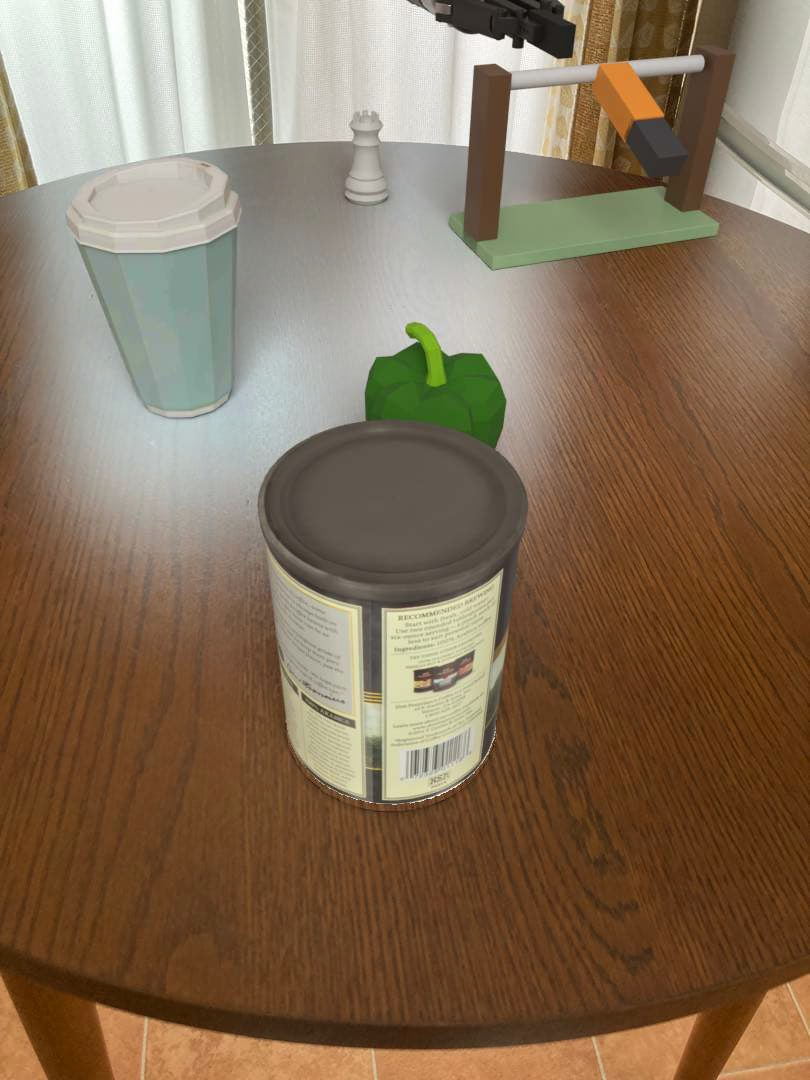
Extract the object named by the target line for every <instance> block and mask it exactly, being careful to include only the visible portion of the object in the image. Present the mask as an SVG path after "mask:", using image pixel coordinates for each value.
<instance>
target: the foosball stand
mask: <svg viewBox="0 0 810 1080" xmlns="http://www.w3.org/2000/svg"><path fill="white" fill-rule="evenodd" d="M693 55H702V56H703V57H704V61H705V63H704V68H703V70H702V71H701V72H698V73H689V79H688V83H687V89H686V93H685V98H684V103H683V108H682V113H681V118H680V122H679V127H678V131H677V135H676V136H677V138H678V139H679V141H680V142H681V143H682V145H683V146H684V148H685V149H686V151H687V152H688V154H689V155H688V157H687V159H686V161H685V163H684V166H683V168H682V170H681V172H680V174H679V175H674V176H668V180H667V185H666V187H665V186H663V185H658V186H650V187H643V188H635V189H634V188H633V189H626V190H620V191H613V192H612V191H611V192H604V193H597V194H590V195H583V196H576V197H569V198H560V199H553V200H546V201H544V200H543V201H537V202H531V203H523V204H515V205H507V206H501V204H502V203H501V202H502V191H503V181H504V180H503V179H504V170H505V169H504V168H505V159H506V147H507V136H508V135H507V134H508V124H509V123H508V122H509V111H510V102H511V101H510V100H511V91H512V90H511V80H512V74H511V73H510V71H508V70H506V69H505V68H503V67H502V66H500V65H499V64H497V63H486V64H475V65H473V73H472V88H471V89H472V90H471V102H470V103H471V105H470V121H469V134H468V135H469V137H468V151H467V152H468V153H467V168H466V181H465V182H466V183H465V199H464V211H463V212H456V213H449V216H448V227H449V226H450V227H451V228H452V229H453V230H454V231H455V232H456V233H455V232H454V231H453V230H452V229H451V228H450V227H449V228H450V229H451V230H452V231H453V232H454V233H455V234H456V236H458V237H459V238H460V239H461V241H463V242H464V243H465V244H466V245H467V246H468V247H469V249H471V251H473V253H475V254H476V255H477V256H478V257H479V258H480V259H481V260H482V262H484V263H485V265H487V267H488V268H490V270H492V271H494V270H502V269H507V268H508V269H509V268H514V267H521V266H526V265H527V266H528V265H534V264H540V263H547V262H554V261H560V260H565V259H566V260H567V259H573V258H574V259H575V258H579V257H586V256H593V255H599V254H606V253H611V252H613V253H614V252H618V251H624V250H631V249H638V248H644V247H651V246H658V245H664V244H669V243H670V244H671V243H676V242H682V241H683V242H684V241H690V240H697V239H703V238H709V237H715V236H718V234H719V233H718V232H719V229H720V222H718V221H717V220H715V219H713V218H712V217H711V216H709V215H708V214H706V213H704V212H703V211H702V210H700V209H701V205H702V200H703V197H704V192H705V188H706V184H707V179H708V174H709V171H710V166H711V162H712V158H713V153H714V149H715V145H716V142H717V141H716V140H717V137H718V132H719V130H720V129H719V128H720V125H721V124H720V123H721V119H722V116H723V112H724V108H725V102H726V98H727V94H728V90H729V86H730V82H731V77H732V74H733V69H734V64H735V60H736V56H737V53H735V52H733V51H731V50H729V49H725V48H724V47H721V46H719V45H717V44H707V45H706V44H705V45H696V46H695V50H694V54H693Z"/></svg>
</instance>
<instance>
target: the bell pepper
mask: <svg viewBox="0 0 810 1080" xmlns="http://www.w3.org/2000/svg"><path fill="white" fill-rule="evenodd" d="M404 328H405V329H404V331H405V334H406V335H407V336H408V338H409V339H413V340H414V339H415V340H416V342H413V343H412V344H410V345H409V346H407V347H405V348H404V349H402V350H400V351H398V352H397V353H395V354H393V355H386V356H385V355H383V356H376V357H375V359H374V361H373V363H372V365H371V367H370V369H369V371H368V376H367V379H366V385H365V389H364V415H365V416H364V417H365V421H371V420H414V421H422V422H428V423H433V424H438V425H443V426H446V427H449V428H452V429H455V430H457V431H461V432H464V433H466V434H468V435H471V436H473V437H475V438H477V439H479V440H481V441H483V442H484V443H486V444H488V445H489V446H491V447H492V448H493V449H495V450H496V448H497V446H498V443H499V440H500V438H501V435H502V432H503V429H504V425H505V424H504V423H505V417H506V416H505V415H506V408H507V398H506V395H505V392H504V390H503V387H502V384H501V381H500V380H499V378H498V376H497V374H496V373H495V372H494V370H493V368H492V366H491V365H490V364H489V362H488V360H487V359H486V357H485V356H484V354H483V353H478V352H477V353H475V352H459V353H455V354H451V355H448V354H447V353H446V352H444V351H443V350H442V347H441V345H440V343H439V341H438V339H437V337H436V335H435V333H434V332H433V331H432V330H431V329H429V328H428V327H427V326H426V325H425V324H423V323H421V322H417V321H413V322H408V323H407V324H406V326H405V327H404Z"/></svg>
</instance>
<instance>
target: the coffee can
mask: <svg viewBox="0 0 810 1080" xmlns="http://www.w3.org/2000/svg"><path fill="white" fill-rule="evenodd" d="M528 514H529V499H528V494H527V489H526V488H525V485H524V482H523V480H522V478H521V476H520V475H519V473H518V471H517V470H516V468H515V466H513V464H512V463H511V462H510V461H509V460H508V459H507V458H506V457H505V456H504V455H502V453H500V452H499V451H498V450H496V449H493V448H492V447H491V446H489V445H488V444H486V443H484V442H483V441H481V440H479V439H477V438H475V437H473V436H471V435H468V434H466V433H464V432H461V431H457V430H455V429H452V428H449V427H446V426H443V425H438V424H433V423H428V422H422V421H414V420H371V421H366V420H364V421H357V422H351V423H346V424H342V425H338V426H334V427H331V428H328V429H326V430H323V431H321V432H317V433H315V434H313V435H311V436H309V437H308V438H305V439H304V440H301V441H300V442H298V443H297V444H295V445H292V446H291V448H289V449H288V450H287V451H285V452H284V453H283V454H282V455H281V456H280V457H279V458H278V459H276V461H275V462H274V463H273V464H272V466H271V467H269V470H268V471H267V472H266V474H265V476H264V478H263V479H262V482H261V484H260V487H259V491H258V496H257V515H258V521H259V525H260V530H261V533H262V535H263V538H264V543H265V552H266V561H267V568H268V569H267V570H268V578H269V587H270V594H271V603H272V611H273V619H274V629H275V636H276V646H277V652H278V661H279V669H280V679H281V688H282V696H283V705H284V713H285V722H286V723H287V730H288V735H289V739H290V742H291V745H292V747H293V749H294V751H295V753H296V755H297V757H298V758H299V760H300V761H301V763H302V764H303V765H304V766H305V768H307V770H308V771H309V772H310V773H311V774H312V775H313V776H314V777H315V779H317V780H318V781H319V782H321V783H322V784H323V785H326V786H327V787H328V788H329V789H332V790H334V791H336V792H338V793H339V794H341V795H345V796H347V797H351V798H353V799H356V800H358V799H359V800H362V801H365V802H369V803H376V804H392V805H397V804H404V803H410V804H411V803H415V802H421V801H424V800H426V799H432V798H434V797H435V796H440V795H441V794H443V793H446V792H448V791H449V790H452V789H453V788H456V787H457V786H458V785H460V784H461V783H462V782H464V781H465V780H466V779H468V778H469V777H470V776H471V775H472V774H474V773H475V771H476V770H477V769H478V768H479V766H480V765H481V764H482V763H483V761H484V760H485V758H486V756H487V755H488V754H489V751H490V748H491V746H492V743H493V741H494V739H495V737H494V736H495V733H496V731H495V730H496V720H497V721H498V712H499V705H500V698H501V691H502V690H501V689H502V682H503V675H504V674H503V673H504V665H505V658H506V651H507V643H508V636H509V627H510V620H511V613H512V605H513V597H514V590H515V582H516V575H517V567H518V560H519V552H520V544H521V542H522V539H523V536H524V534H525V530H526V526H527V523H528V517H529V515H528Z"/></svg>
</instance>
